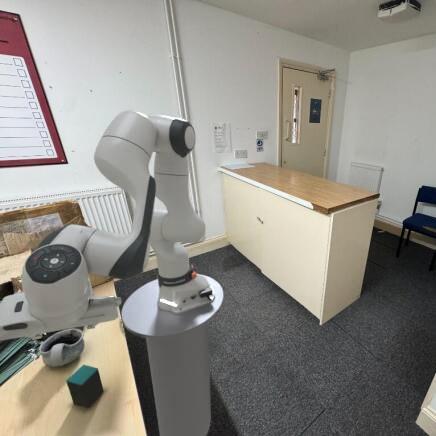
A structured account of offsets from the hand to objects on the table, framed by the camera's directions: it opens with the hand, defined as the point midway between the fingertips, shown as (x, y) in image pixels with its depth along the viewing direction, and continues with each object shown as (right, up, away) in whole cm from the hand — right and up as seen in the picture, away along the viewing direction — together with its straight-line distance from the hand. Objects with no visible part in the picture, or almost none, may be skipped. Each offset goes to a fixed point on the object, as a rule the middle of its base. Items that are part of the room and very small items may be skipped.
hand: (65, 330), depth 57 cm
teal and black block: (+1, -21, +6) cm, 22 cm away
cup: (-27, -8, +34) cm, 44 cm away
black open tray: (-24, -11, +25) cm, 37 cm away
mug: (-13, -16, +14) cm, 26 cm away
